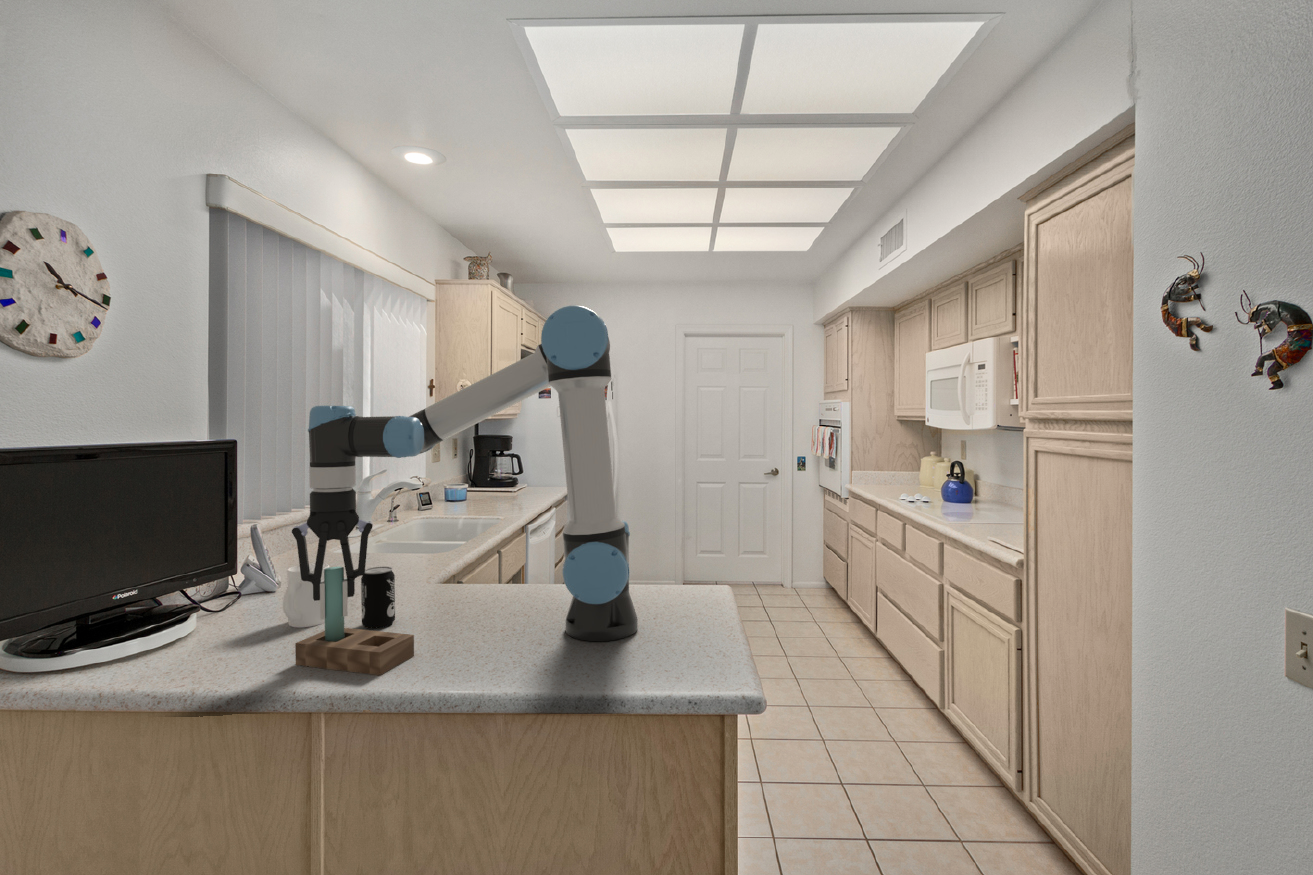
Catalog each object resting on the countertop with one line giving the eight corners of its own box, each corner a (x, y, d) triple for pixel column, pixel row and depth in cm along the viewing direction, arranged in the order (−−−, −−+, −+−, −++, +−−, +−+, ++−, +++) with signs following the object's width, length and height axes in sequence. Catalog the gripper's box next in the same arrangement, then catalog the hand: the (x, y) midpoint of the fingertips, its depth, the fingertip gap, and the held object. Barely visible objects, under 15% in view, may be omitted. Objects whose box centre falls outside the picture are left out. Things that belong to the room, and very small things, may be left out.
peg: (348, 641, 113) (347, 567, 112) (335, 647, 110) (334, 571, 109) (334, 640, 114) (333, 566, 113) (320, 646, 111) (319, 570, 110)
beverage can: (382, 630, 127) (381, 573, 126) (354, 628, 128) (354, 572, 128) (401, 620, 133) (400, 566, 133) (375, 618, 134) (374, 565, 134)
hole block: (414, 655, 113) (413, 634, 112) (380, 675, 104) (380, 652, 104) (334, 647, 117) (334, 626, 117) (295, 665, 108) (295, 643, 108)
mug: (265, 633, 125) (264, 576, 125) (302, 615, 137) (301, 563, 137) (304, 634, 125) (303, 576, 124) (337, 616, 137) (336, 563, 136)
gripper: (380, 485, 118) (381, 604, 118) (285, 489, 111) (286, 615, 112) (381, 489, 111) (382, 615, 112) (279, 493, 104) (281, 628, 105)
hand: (334, 615), depth 112 cm, fingers closed on peg, 3 cm apart
